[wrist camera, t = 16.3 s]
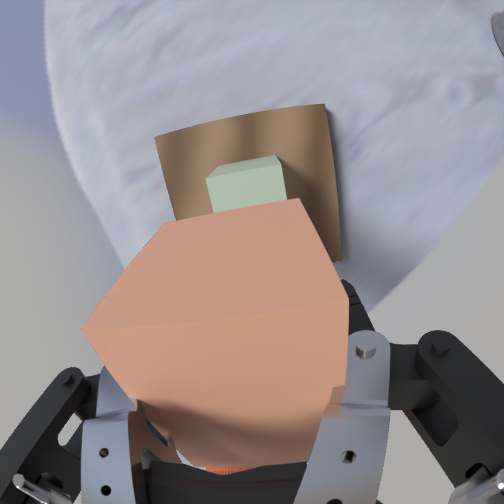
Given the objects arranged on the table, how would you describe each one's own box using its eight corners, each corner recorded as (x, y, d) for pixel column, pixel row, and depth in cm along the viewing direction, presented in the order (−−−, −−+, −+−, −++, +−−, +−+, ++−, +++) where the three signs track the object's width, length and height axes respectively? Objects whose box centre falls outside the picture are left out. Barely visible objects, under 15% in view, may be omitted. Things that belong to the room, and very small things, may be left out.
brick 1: (275, 155, 23) (281, 164, 17) (288, 230, 25) (296, 260, 20) (218, 166, 23) (205, 178, 18) (235, 239, 26) (228, 271, 21)
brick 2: (298, 197, 9) (349, 298, 4) (314, 343, 12) (336, 457, 7) (164, 223, 10) (81, 329, 5) (212, 356, 13) (194, 466, 8)
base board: (321, 104, 22) (324, 103, 20) (338, 253, 28) (341, 260, 27) (159, 136, 23) (154, 137, 22) (198, 275, 30) (195, 282, 28)
